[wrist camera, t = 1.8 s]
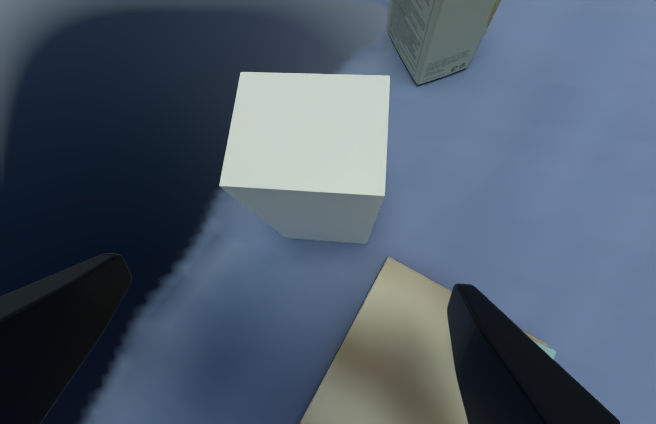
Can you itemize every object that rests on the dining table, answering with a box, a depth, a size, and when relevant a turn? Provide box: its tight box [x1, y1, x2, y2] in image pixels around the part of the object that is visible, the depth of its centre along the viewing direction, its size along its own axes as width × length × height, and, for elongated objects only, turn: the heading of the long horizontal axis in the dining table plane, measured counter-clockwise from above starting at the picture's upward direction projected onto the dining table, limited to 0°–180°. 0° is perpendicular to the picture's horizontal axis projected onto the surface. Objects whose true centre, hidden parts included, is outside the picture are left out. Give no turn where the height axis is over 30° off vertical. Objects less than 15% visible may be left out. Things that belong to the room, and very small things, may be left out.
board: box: [300, 257, 547, 424], centre depth 17 cm, size 14×10×1 cm
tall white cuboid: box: [219, 72, 390, 244], centre depth 15 cm, size 4×6×10 cm
